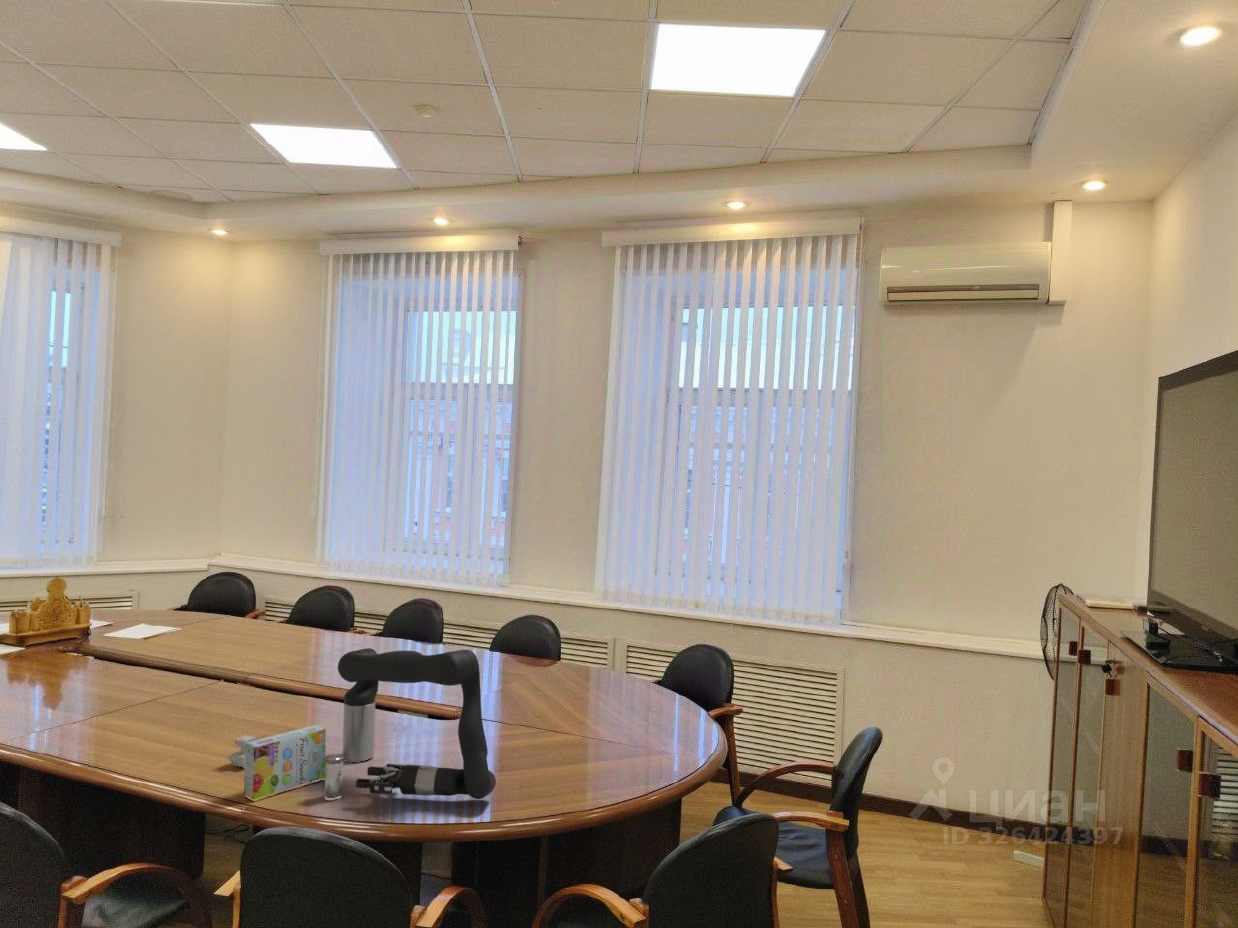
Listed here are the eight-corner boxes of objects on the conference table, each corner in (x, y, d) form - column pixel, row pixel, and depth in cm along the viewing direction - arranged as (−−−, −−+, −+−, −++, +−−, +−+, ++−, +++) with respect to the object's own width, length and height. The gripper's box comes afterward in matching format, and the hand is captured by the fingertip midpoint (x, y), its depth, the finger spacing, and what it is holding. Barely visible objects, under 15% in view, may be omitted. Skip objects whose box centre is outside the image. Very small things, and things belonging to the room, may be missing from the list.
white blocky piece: (265, 764, 245) (266, 736, 244) (246, 772, 238) (247, 743, 238) (243, 759, 248) (244, 731, 248) (224, 766, 242) (225, 738, 242)
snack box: (315, 775, 238) (316, 723, 238) (325, 780, 234) (327, 728, 234) (242, 797, 222) (244, 741, 222) (252, 803, 218) (254, 746, 218)
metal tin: (324, 794, 225) (326, 754, 225) (342, 793, 226) (343, 753, 226) (323, 801, 220) (325, 760, 220) (341, 799, 222) (343, 759, 222)
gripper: (428, 756, 229) (371, 753, 230) (413, 776, 215) (352, 772, 216) (427, 783, 229) (371, 780, 230) (412, 804, 215) (351, 801, 216)
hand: (362, 776), depth 223 cm, fingers open, 8 cm apart
